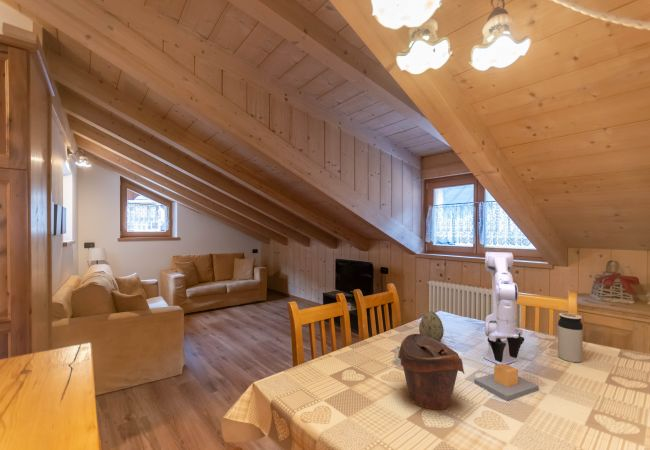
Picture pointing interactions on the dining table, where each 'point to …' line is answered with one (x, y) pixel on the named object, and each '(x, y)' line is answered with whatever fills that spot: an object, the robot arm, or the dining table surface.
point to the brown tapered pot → (429, 370)
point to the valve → (397, 361)
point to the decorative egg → (431, 326)
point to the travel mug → (570, 337)
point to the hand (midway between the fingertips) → (505, 358)
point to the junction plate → (504, 391)
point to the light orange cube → (505, 374)
